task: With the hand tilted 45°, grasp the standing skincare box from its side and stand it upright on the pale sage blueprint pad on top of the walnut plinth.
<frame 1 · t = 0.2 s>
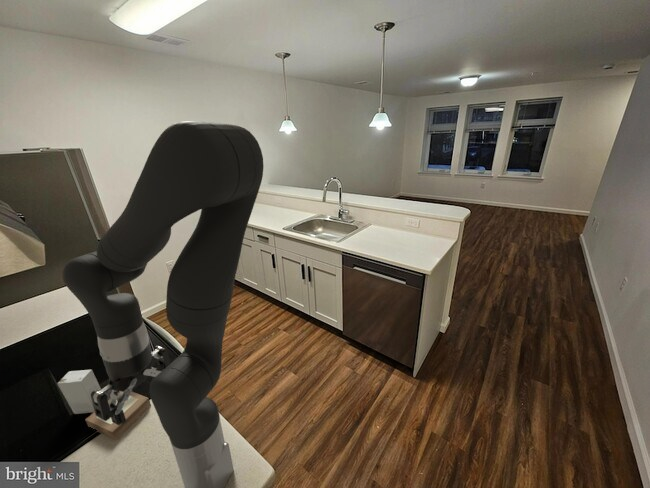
hand: (141, 404, 58), 18 cm above the counter, tool pointing down, fingers open, 8 cm apart
walnut plinth: (121, 416, 74), on the counter
skincare box: (90, 407, 76), on the counter
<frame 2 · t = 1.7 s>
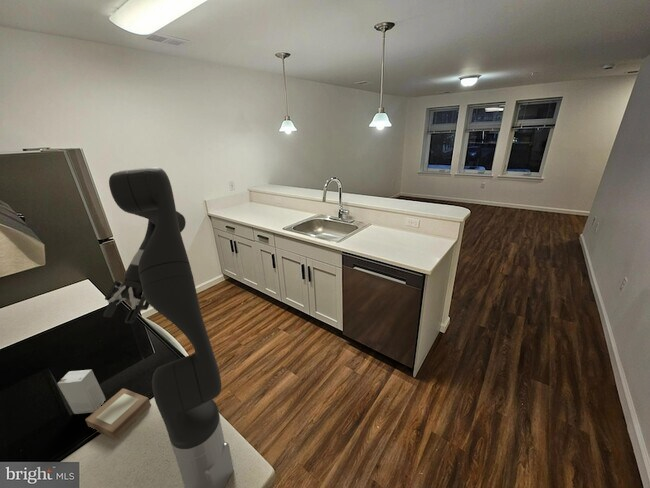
hand: (117, 319, 77), 23 cm above the counter, tool tilted 45°, fingers open, 8 cm apart
nothing on the counter moved.
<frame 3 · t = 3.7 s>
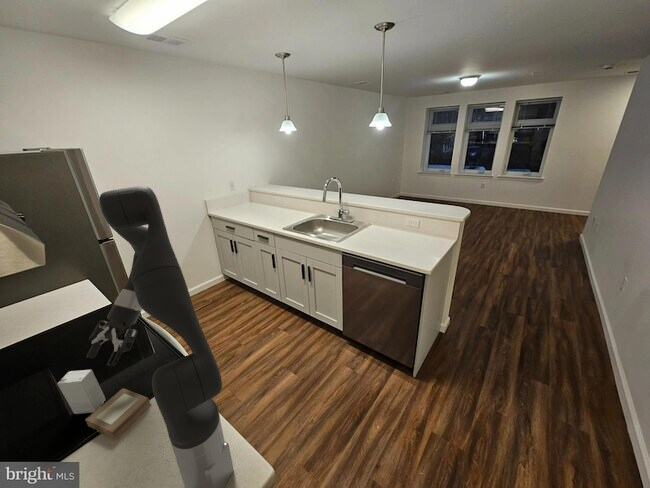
hand: (100, 361, 77), 11 cm above the counter, tool tilted 45°, fingers open, 8 cm apart
nothing on the counter moved.
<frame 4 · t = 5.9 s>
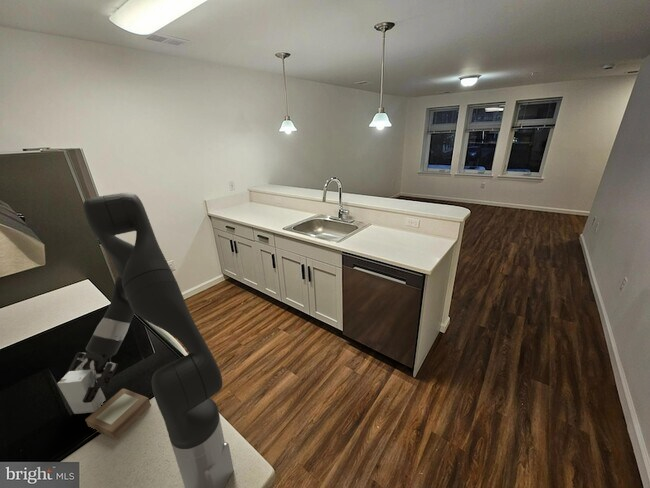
hand: (77, 398, 73), 5 cm above the counter, tool tilted 45°, fingers closed on skincare box, 7 cm apart
skincare box: (90, 407, 76), on the counter, touching gripper
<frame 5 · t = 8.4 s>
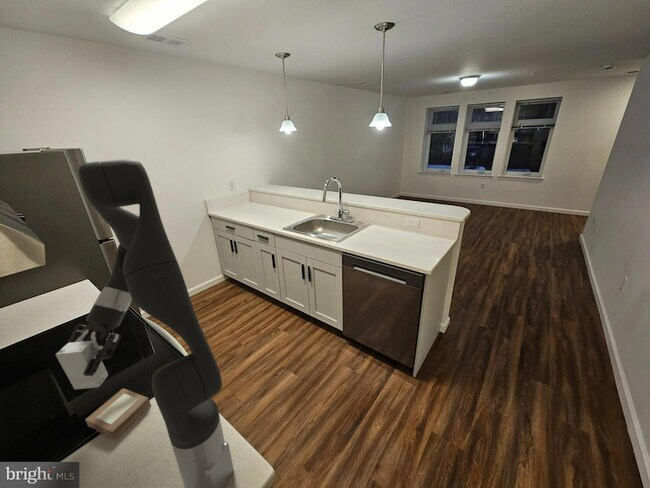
hand: (77, 371, 67), 17 cm above the counter, tool tilted 45°, fingers closed on skincare box, 7 cm apart
skincare box: (91, 383, 70), point 11 cm above the counter, touching gripper
when the fingers open (10 cm above the counter, at t = 10.9 s): skincare box drops 1 cm, resting on walnut plinth.
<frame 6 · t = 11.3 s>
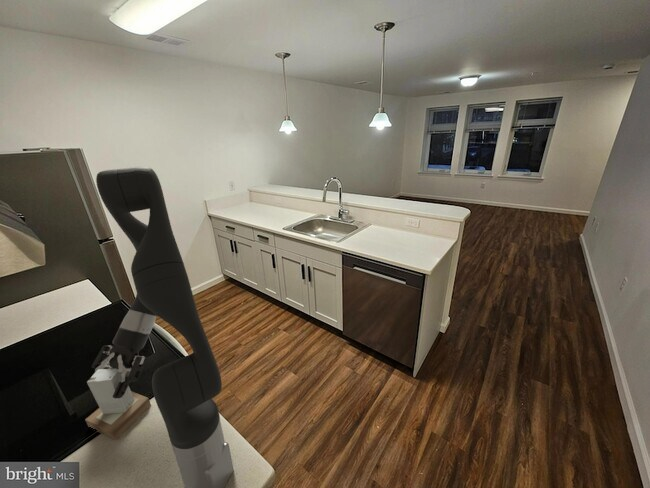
hand: (105, 393, 69), 10 cm above the counter, tool tilted 45°, fingers open, 8 cm apart
skincare box: (118, 407, 73), point 3 cm above the counter, touching walnut plinth
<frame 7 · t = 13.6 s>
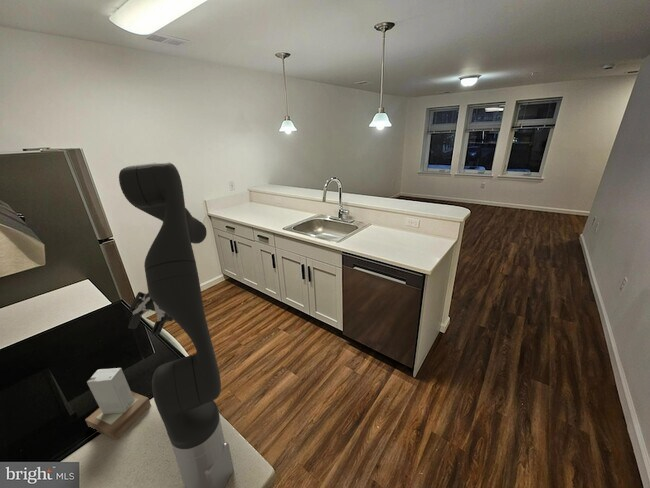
hand: (142, 331, 77), 20 cm above the counter, tool tilted 45°, fingers open, 8 cm apart
nothing on the counter moved.
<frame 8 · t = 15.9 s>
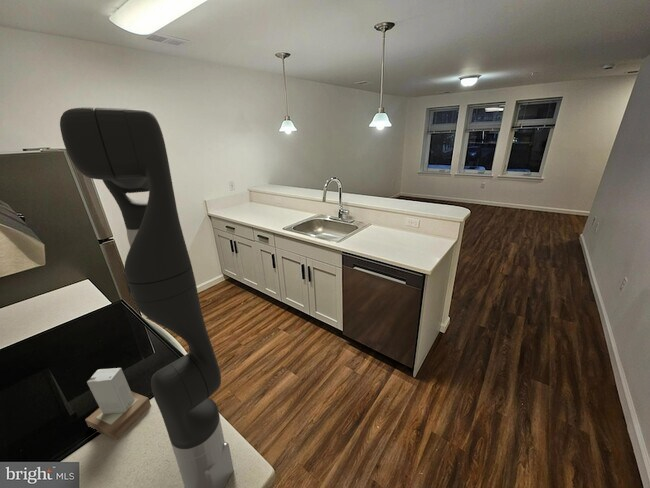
hand: (160, 295, 75), 30 cm above the counter, tool pointing down, fingers open, 8 cm apart
nothing on the counter moved.
at the end: skincare box 0.3 cm off-centre on the walnut plinth, point 2.9 cm above the walnut plinth's base; skincare box tilted 0° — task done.
